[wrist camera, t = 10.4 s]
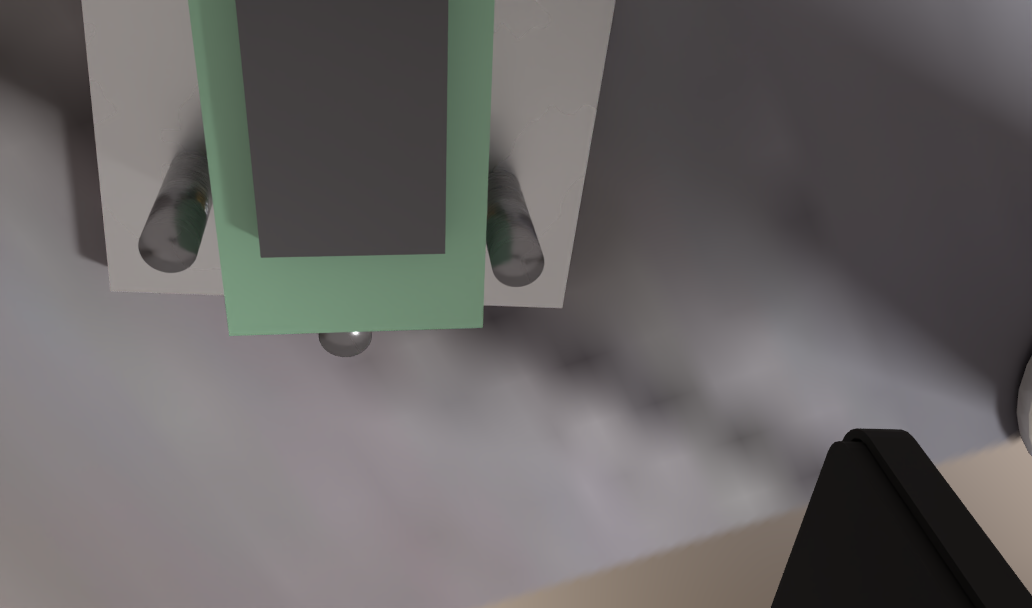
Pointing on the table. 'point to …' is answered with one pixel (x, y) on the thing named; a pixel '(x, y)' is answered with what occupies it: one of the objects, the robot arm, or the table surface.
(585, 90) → the chassis
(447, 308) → the module
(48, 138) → the table surface
